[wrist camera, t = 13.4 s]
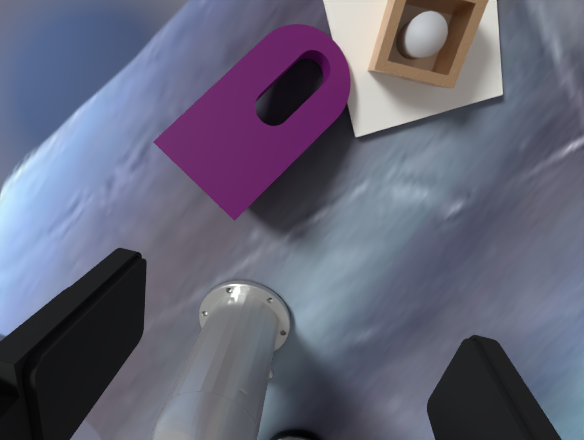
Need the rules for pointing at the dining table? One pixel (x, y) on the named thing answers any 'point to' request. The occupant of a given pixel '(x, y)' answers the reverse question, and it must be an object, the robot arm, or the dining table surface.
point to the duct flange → (410, 63)
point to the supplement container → (294, 435)
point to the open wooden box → (461, 30)
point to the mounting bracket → (256, 119)
